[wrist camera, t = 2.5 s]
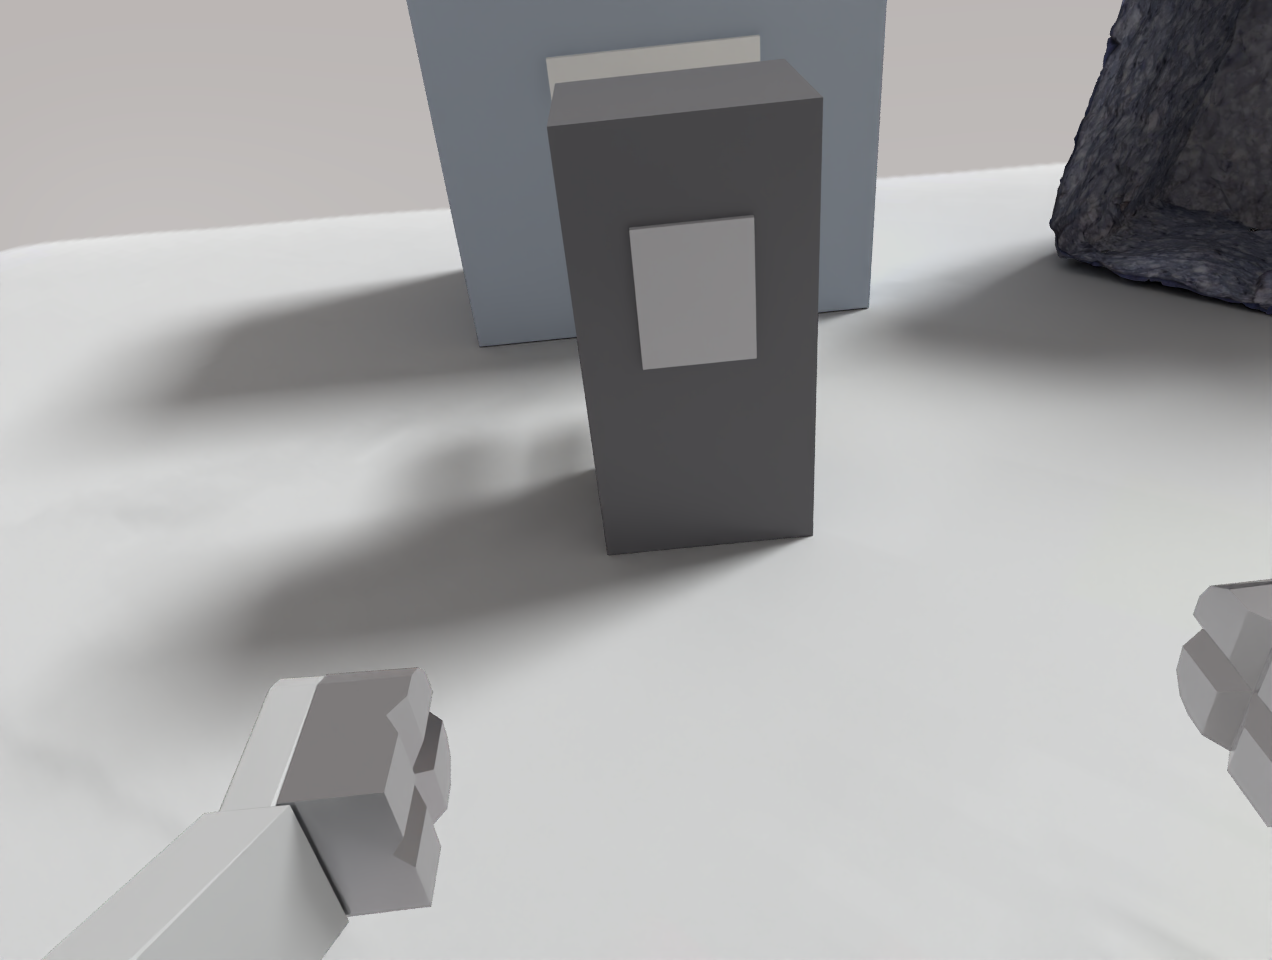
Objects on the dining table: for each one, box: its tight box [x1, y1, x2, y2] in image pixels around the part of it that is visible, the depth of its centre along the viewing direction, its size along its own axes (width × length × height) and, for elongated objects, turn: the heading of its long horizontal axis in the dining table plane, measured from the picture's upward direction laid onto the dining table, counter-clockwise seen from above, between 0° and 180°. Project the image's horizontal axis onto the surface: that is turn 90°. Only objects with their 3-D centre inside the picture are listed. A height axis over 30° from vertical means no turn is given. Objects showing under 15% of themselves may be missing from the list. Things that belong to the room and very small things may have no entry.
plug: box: [547, 59, 823, 555], centre depth 22 cm, size 5×8×10 cm, turn 2°
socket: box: [407, 0, 887, 347], centre depth 32 cm, size 14×9×12 cm, turn 92°
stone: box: [1049, 0, 1272, 314], centre depth 30 cm, size 12×10×10 cm
